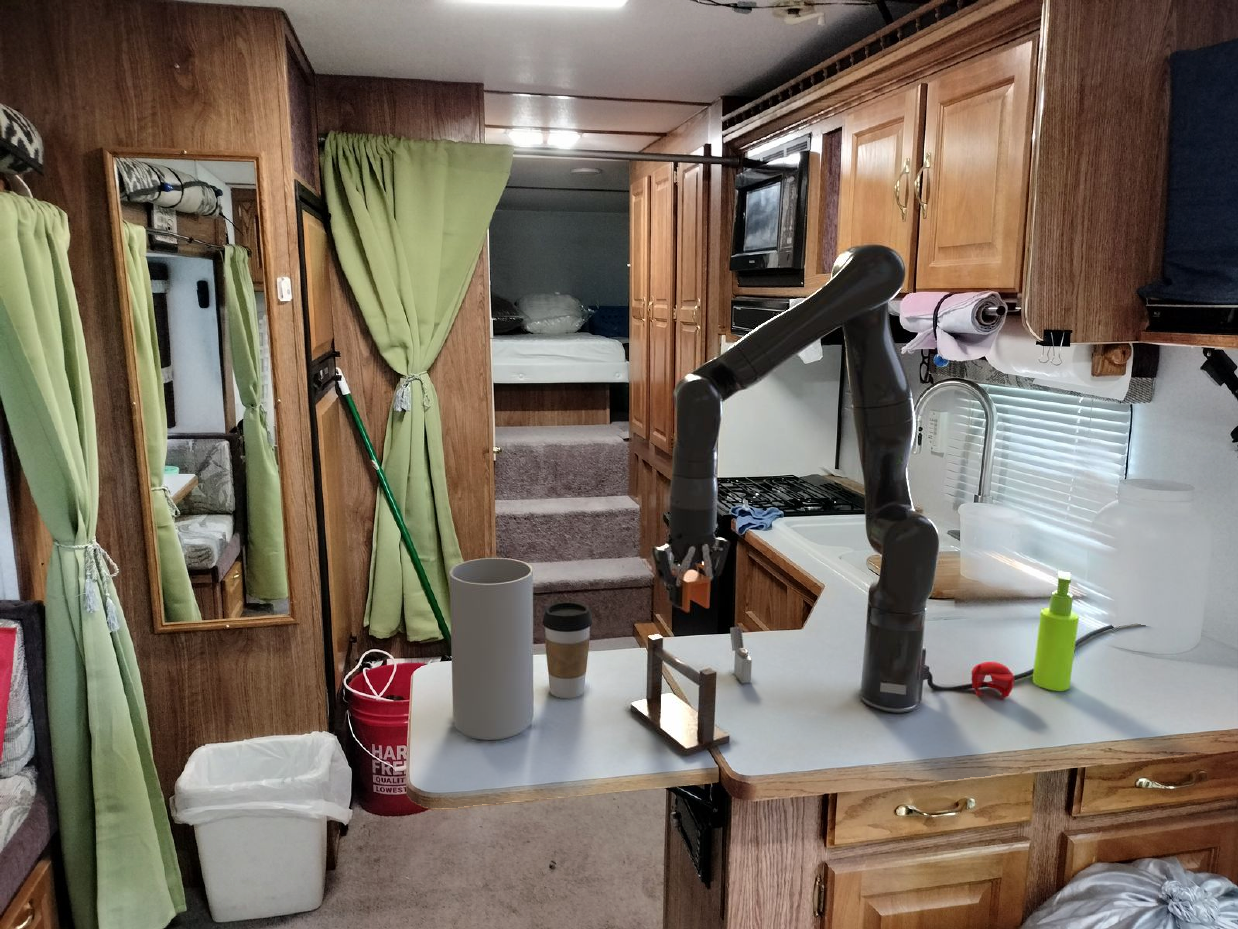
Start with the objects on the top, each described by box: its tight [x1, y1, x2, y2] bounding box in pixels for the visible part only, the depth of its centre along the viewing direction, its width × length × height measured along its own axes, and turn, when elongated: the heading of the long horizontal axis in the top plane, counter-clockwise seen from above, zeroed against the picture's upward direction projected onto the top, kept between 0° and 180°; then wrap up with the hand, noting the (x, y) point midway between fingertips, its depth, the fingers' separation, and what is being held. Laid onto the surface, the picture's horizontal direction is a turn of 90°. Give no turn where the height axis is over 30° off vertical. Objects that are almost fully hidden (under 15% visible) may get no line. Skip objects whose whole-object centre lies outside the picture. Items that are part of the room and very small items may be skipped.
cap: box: [971, 661, 1015, 700], centre depth 145 cm, size 8×6×6 cm
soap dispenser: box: [1032, 570, 1080, 692], centre depth 149 cm, size 6×7×20 cm
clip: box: [679, 569, 711, 613], centre depth 137 cm, size 4×5×5 cm
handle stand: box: [630, 633, 731, 757], centre depth 132 cm, size 8×16×12 cm, turn 30°
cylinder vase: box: [449, 557, 534, 741], centre depth 131 cm, size 12×12×25 cm
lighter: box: [729, 626, 753, 684], centre depth 151 cm, size 7×2×8 cm, turn 12°
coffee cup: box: [541, 601, 593, 699], centre depth 143 cm, size 8×8×15 cm
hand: (689, 603), depth 138 cm, fingers closed on clip, 4 cm apart
